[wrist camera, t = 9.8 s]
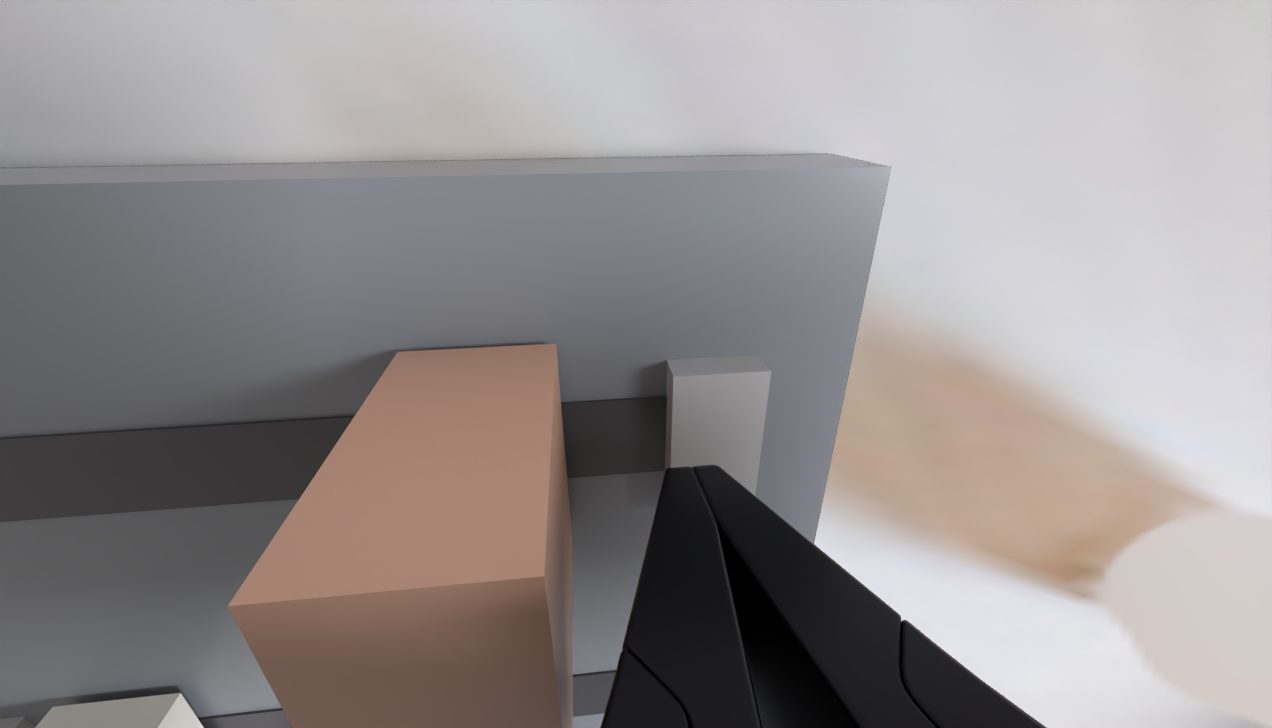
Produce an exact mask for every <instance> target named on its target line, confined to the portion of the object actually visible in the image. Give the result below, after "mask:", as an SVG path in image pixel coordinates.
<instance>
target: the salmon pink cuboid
mask: <svg viewBox="0 0 1272 728" xmlns="http://www.w3.org/2000/svg"><path fill="white" fill-rule="evenodd" d="M228 608H229V610H230V612H231V614H232V615H233V617H234V619H235V621H236V623H237V625H238V627H239V629H240V630H241V632H242V634H243V636H244V638H245V640H246V642H247V644H248V645H249V647H250V649H251V651H252V653H253V655H254V657H255V658H256V660H257V662H258V664H259V666H260V668H261V670H262V672H263V673H264V675H265V677H266V679H267V681H268V683H269V685H270V687H271V688H272V690H273V692H274V694H275V696H276V698H277V700H278V701H279V703H280V705H281V707H282V709H283V711H284V713H285V715H286V716H287V718H288V720H289V722H290V724H291V726H292V728H573V647H572V529H571V517H570V505H569V493H568V481H567V469H566V456H565V444H564V432H563V420H562V408H561V396H560V384H559V371H558V359H557V347H556V344H538V345H519V346H499V347H480V348H461V349H442V350H422V351H403V352H397V354H396V355H395V357H394V358H393V360H392V361H391V363H390V364H389V365H388V367H387V368H386V370H385V371H384V373H383V374H382V376H381V377H380V379H379V380H378V382H377V383H376V385H375V386H374V388H373V389H372V391H371V392H370V394H369V395H368V397H367V398H366V400H365V401H364V403H363V404H362V406H361V407H360V409H359V410H358V412H357V413H356V415H355V416H354V418H353V419H352V421H351V422H350V424H349V425H348V427H347V428H346V430H345V431H344V433H343V434H342V436H341V437H340V439H339V440H338V442H337V443H336V445H335V446H334V448H333V449H332V451H331V452H330V454H329V455H328V457H327V458H326V460H325V461H324V463H323V464H322V466H321V467H320V469H319V470H318V472H317V473H316V475H315V476H314V478H313V479H312V481H311V482H310V484H309V485H308V487H307V488H306V490H305V491H304V493H303V494H302V496H301V497H300V499H299V500H298V502H297V503H296V505H295V506H294V508H293V509H292V511H291V512H290V514H289V515H288V517H287V518H286V520H285V521H284V523H283V524H282V526H281V527H280V529H279V530H278V532H277V533H276V535H275V536H274V538H273V539H272V541H271V542H270V544H269V545H268V547H267V548H266V550H265V551H264V553H263V554H262V556H261V557H260V559H259V560H258V562H257V563H256V565H255V566H254V568H253V569H252V571H251V572H250V574H249V575H248V577H247V578H246V580H245V581H244V583H243V584H242V586H241V587H240V589H239V590H238V592H237V593H236V595H235V596H234V598H233V599H232V600H231V602H230V603H229V605H228Z"/></svg>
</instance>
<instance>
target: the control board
mask: <svg viewBox="0 0 1272 728" xmlns="http://www.w3.org/2000/svg"><path fill="white" fill-rule="evenodd" d="M890 171H891V167H889V166H885V165H880V164H876V163H871V162H867V161H862V160H858V159H853V158H848V157H844V156H839V155H835V154H787V155H729V156H671V157H614V158H556V159H498V160H440V161H382V162H324V163H266V164H208V165H150V166H92V167H34V168H0V728H35V727H36V726H37V725H38V724H39V722H40V721H41V720H42V719H43V718H44V717H45V715H46V714H47V713H48V712H49V711H50V709H51V708H52V707H56V706H65V705H74V704H83V703H92V702H101V701H110V700H119V699H129V698H138V697H147V696H156V695H165V694H174V693H181V694H182V696H183V697H184V699H185V700H186V702H187V703H188V705H189V706H190V708H191V709H192V711H193V712H194V714H195V715H196V717H197V718H198V720H199V721H200V723H201V724H202V726H203V727H204V728H292V726H291V724H290V722H289V720H288V718H287V716H286V715H285V713H284V711H283V709H282V707H281V705H280V703H279V701H278V700H277V698H276V696H275V694H274V692H273V690H272V688H271V687H270V685H269V683H268V681H267V679H266V677H265V675H264V673H263V672H262V670H261V668H260V666H259V664H258V662H257V660H256V658H255V657H254V655H253V653H252V651H251V649H250V647H249V645H248V644H247V642H246V640H245V638H244V636H243V634H242V632H241V630H240V629H239V627H238V625H237V623H236V621H235V619H234V617H233V615H232V614H231V612H230V610H229V608H228V605H229V603H230V602H231V600H232V599H233V598H234V596H235V595H236V593H237V592H238V590H239V589H240V587H241V586H242V584H243V583H244V581H245V580H246V578H247V577H248V575H249V574H250V572H251V571H252V569H253V568H254V566H255V565H256V563H257V562H258V560H259V559H260V557H261V556H262V554H263V553H264V551H265V550H266V548H267V547H268V545H269V544H270V542H271V541H272V539H273V538H274V536H275V535H276V533H277V532H278V530H279V529H280V527H281V526H282V524H283V523H284V521H285V520H286V518H287V517H288V515H289V514H290V512H291V511H292V509H293V508H294V506H295V505H296V503H297V502H298V500H299V499H300V497H301V496H302V494H303V493H304V491H305V490H306V488H307V487H308V485H309V484H310V482H311V481H312V479H313V478H314V476H315V475H316V473H317V472H318V470H319V469H320V467H321V466H322V464H323V463H324V461H325V460H326V458H327V457H328V455H329V454H330V452H331V451H332V449H333V448H334V446H335V445H336V443H337V442H338V440H339V439H340V437H341V436H342V434H343V433H344V431H345V430H346V428H347V427H348V425H349V424H350V422H351V421H352V419H353V418H354V416H355V415H356V413H357V412H358V410H359V409H360V407H361V406H362V404H363V403H364V401H365V400H366V398H367V397H368V395H369V394H370V392H371V391H372V389H373V388H374V386H375V385H376V383H377V382H378V380H379V379H380V377H381V376H382V374H383V373H384V371H385V370H386V368H387V367H388V365H389V364H390V363H391V361H392V360H393V358H394V357H395V355H396V354H397V352H403V351H422V350H442V349H461V348H480V347H499V346H519V345H538V344H556V347H557V359H558V371H559V384H560V396H561V408H562V420H563V432H564V444H565V456H566V469H567V481H568V493H569V505H570V517H571V529H572V647H573V728H600V727H601V724H602V720H603V717H604V713H605V710H606V706H607V703H608V699H609V695H610V692H611V688H612V685H613V681H614V677H615V673H616V669H617V665H618V661H619V657H620V653H621V651H622V646H623V642H624V638H625V634H626V630H627V626H628V622H629V617H630V613H631V609H632V605H633V601H634V597H635V593H636V589H637V585H638V581H639V577H640V572H641V568H642V564H643V560H644V556H645V552H646V548H647V544H648V540H649V536H650V532H651V528H652V523H653V519H654V515H655V511H656V507H657V503H658V499H659V495H660V491H661V487H662V483H663V479H664V474H665V471H666V469H668V468H671V467H685V466H689V467H691V468H692V467H693V466H699V465H717V466H719V467H721V468H722V469H723V470H724V471H726V472H727V473H728V474H729V475H730V476H732V477H733V478H734V479H735V480H736V481H738V482H739V483H740V484H741V485H743V486H744V487H745V488H746V489H747V490H749V491H750V492H751V493H752V494H753V495H755V496H756V497H757V498H758V499H760V500H761V501H762V502H763V503H764V504H766V505H767V506H768V507H769V508H770V509H772V510H773V511H774V512H775V513H777V514H778V515H779V516H780V517H781V518H783V519H784V520H785V521H786V522H787V523H789V524H790V525H791V526H792V527H794V528H795V529H796V530H797V531H798V532H800V533H801V534H802V535H803V536H804V537H806V538H807V539H808V540H809V541H811V542H812V543H813V544H814V540H815V536H816V531H817V526H818V521H819V516H820V511H821V506H822V502H823V497H824V492H825V487H826V482H827V477H828V472H829V468H830V463H831V458H832V453H833V448H834V443H835V438H836V434H837V429H838V424H839V419H840V414H841V409H842V404H843V400H844V395H845V390H846V385H847V380H848V375H849V370H850V366H851V361H852V356H853V351H854V346H855V341H856V336H857V332H858V327H859V322H860V317H861V312H862V307H863V302H864V298H865V293H866V288H867V283H868V278H869V273H870V268H871V264H872V259H873V254H874V249H875V244H876V239H877V234H878V230H879V225H880V220H881V215H882V210H883V205H884V200H885V196H886V191H887V186H888V181H889V176H890Z"/></svg>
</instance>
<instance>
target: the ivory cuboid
mask: <svg viewBox="0 0 1272 728" xmlns="http://www.w3.org/2000/svg"><path fill="white" fill-rule="evenodd" d="M35 728H204V727H203V726H202V724H201V723H200V721H199V720H198V718H197V717H196V715H195V714H194V712H193V711H192V709H191V708H190V706H189V705H188V703H187V702H186V700H185V699H184V697H183V696H182V694H181V693H174V694H165V695H156V696H147V697H138V698H129V699H119V700H110V701H101V702H92V703H83V704H74V705H65V706H56V707H52V708H51V709H50V711H49V712H48V713H47V714H46V715H45V717H44V718H43V719H42V720H41V721H40V722H39V724H38V725H37V726H36V727H35Z"/></svg>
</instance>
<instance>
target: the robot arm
mask: <svg viewBox="0 0 1272 728" xmlns="http://www.w3.org/2000/svg"><path fill="white" fill-rule="evenodd" d="M600 728H1046V727H1045V726H1043V725H1042V724H1041V723H1039V722H1038V721H1036V720H1035V719H1034V718H1032V717H1031V716H1030V715H1028V714H1027V713H1025V712H1024V711H1023V710H1021V709H1020V708H1019V707H1017V706H1016V705H1015V704H1013V703H1012V702H1011V701H1009V700H1008V699H1006V698H1005V697H1004V696H1002V695H1001V694H1000V693H998V692H997V691H996V690H994V689H993V688H991V687H990V686H989V685H987V684H986V683H985V682H983V681H982V680H981V679H979V678H978V677H977V676H975V675H974V674H973V673H972V672H970V671H969V670H968V669H967V668H965V667H964V666H963V665H961V664H960V663H959V662H958V661H956V660H955V659H954V658H953V657H951V656H950V655H949V654H948V653H946V652H945V651H944V650H942V649H941V648H940V647H939V646H937V645H936V644H935V643H934V642H932V641H931V640H930V639H929V638H928V637H926V636H925V635H924V634H923V633H921V632H920V631H919V630H918V629H917V628H915V627H914V626H913V625H912V624H911V623H909V622H908V621H906V620H903V621H902V622H901V616H900V615H899V614H898V613H897V612H896V611H894V610H893V609H892V608H891V607H890V606H888V605H887V604H886V603H885V602H883V601H882V600H881V599H880V598H879V597H877V596H876V595H875V594H874V593H873V592H871V591H870V590H869V589H868V588H866V587H865V586H864V585H863V584H862V583H860V582H859V581H858V580H857V579H856V578H854V577H853V576H852V575H851V574H849V573H848V572H847V571H846V570H845V569H843V568H842V567H841V566H840V565H839V564H837V563H836V562H835V561H834V560H832V559H831V558H830V557H829V556H828V555H826V554H825V553H824V552H823V551H822V550H820V549H819V548H818V547H817V546H815V545H814V544H813V543H812V542H811V541H809V540H808V539H807V538H806V537H804V536H803V535H802V534H801V533H800V532H798V531H797V530H796V529H795V528H794V527H792V526H791V525H790V524H789V523H787V522H786V521H785V520H784V519H783V518H781V517H780V516H779V515H778V514H777V513H775V512H774V511H773V510H772V509H770V508H769V507H768V506H767V505H766V504H764V503H763V502H762V501H761V500H760V499H758V498H757V497H756V496H755V495H753V494H752V493H751V492H750V491H749V490H747V489H746V488H745V487H744V486H743V485H741V484H740V483H739V482H738V481H736V480H735V479H734V478H733V477H732V476H730V475H729V474H728V473H727V472H726V471H724V470H723V469H722V468H721V467H719V466H717V465H699V466H693V467H692V468H691V467H689V466H685V467H671V468H668V469H666V471H665V474H664V479H663V483H662V487H661V491H660V495H659V499H658V503H657V507H656V511H655V515H654V519H653V523H652V528H651V532H650V536H649V540H648V544H647V548H646V552H645V556H644V560H643V564H642V568H641V572H640V577H639V581H638V585H637V589H636V593H635V597H634V601H633V605H632V609H631V613H630V617H629V622H628V626H627V630H626V634H625V638H624V642H623V646H622V651H621V653H620V657H619V661H618V665H617V669H616V673H615V677H614V681H613V685H612V688H611V692H610V695H609V699H608V703H607V706H606V710H605V713H604V717H603V720H602V724H601V727H600Z"/></svg>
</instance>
